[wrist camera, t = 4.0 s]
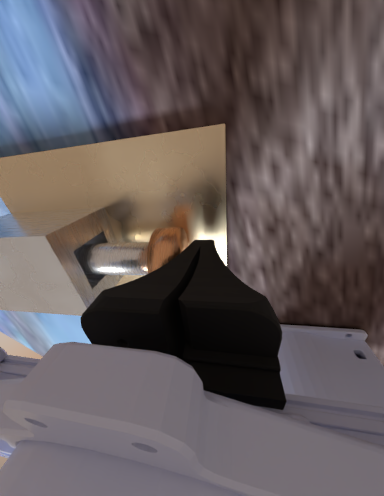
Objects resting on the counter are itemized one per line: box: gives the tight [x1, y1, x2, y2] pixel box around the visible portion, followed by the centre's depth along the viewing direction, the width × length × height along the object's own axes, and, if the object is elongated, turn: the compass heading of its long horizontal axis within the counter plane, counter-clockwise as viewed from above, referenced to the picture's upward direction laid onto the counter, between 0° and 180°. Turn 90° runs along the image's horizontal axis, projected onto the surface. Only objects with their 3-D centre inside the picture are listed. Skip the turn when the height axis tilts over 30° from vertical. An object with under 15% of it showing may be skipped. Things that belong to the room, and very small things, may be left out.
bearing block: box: [0, 124, 227, 316], centre depth 13 cm, size 18×14×6 cm
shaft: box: [73, 227, 188, 275], centre depth 12 cm, size 11×4×4 cm, turn 96°
